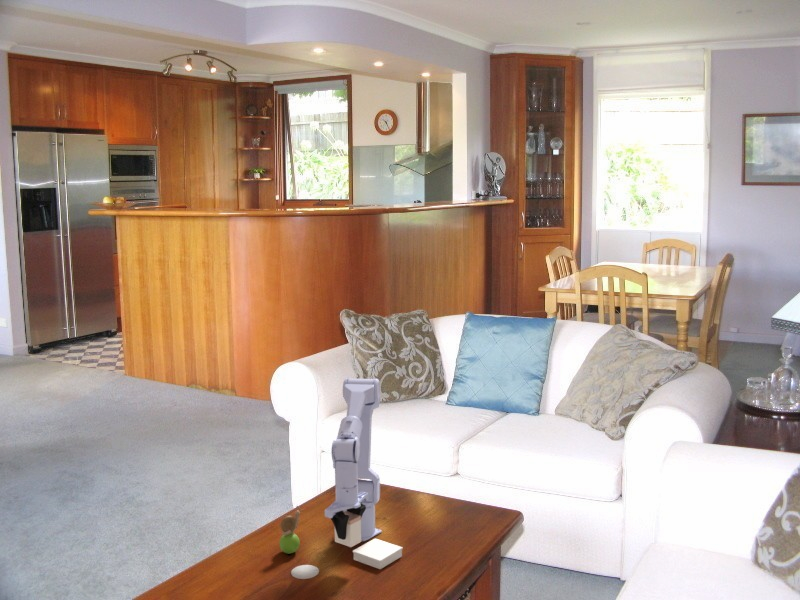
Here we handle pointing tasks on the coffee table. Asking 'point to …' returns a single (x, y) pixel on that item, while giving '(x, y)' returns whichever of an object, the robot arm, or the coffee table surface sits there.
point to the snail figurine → (289, 534)
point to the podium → (377, 553)
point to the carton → (351, 530)
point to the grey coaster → (304, 571)
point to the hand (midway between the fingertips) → (347, 535)
